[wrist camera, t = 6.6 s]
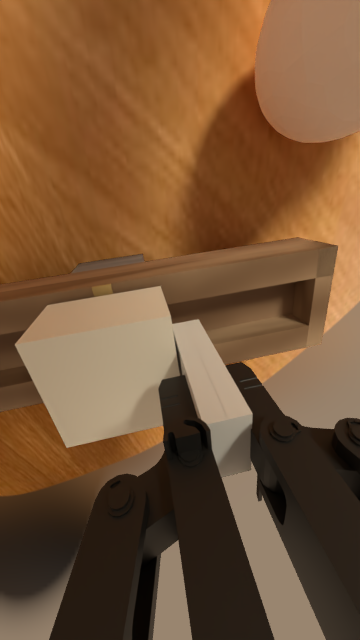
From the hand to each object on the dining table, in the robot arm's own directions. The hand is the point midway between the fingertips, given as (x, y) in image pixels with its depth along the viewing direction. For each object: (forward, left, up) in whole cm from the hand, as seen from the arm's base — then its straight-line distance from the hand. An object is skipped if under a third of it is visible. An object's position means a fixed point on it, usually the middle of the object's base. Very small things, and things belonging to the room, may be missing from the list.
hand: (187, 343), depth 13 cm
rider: (0, -4, -4) cm, 5 cm away
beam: (0, -4, -9) cm, 10 cm away
